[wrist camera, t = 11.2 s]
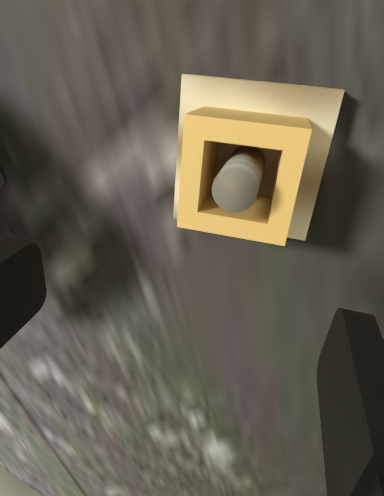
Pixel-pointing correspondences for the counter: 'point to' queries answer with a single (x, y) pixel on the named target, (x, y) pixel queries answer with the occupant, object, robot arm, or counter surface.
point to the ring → (204, 162)
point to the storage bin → (1, 180)
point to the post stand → (256, 158)
